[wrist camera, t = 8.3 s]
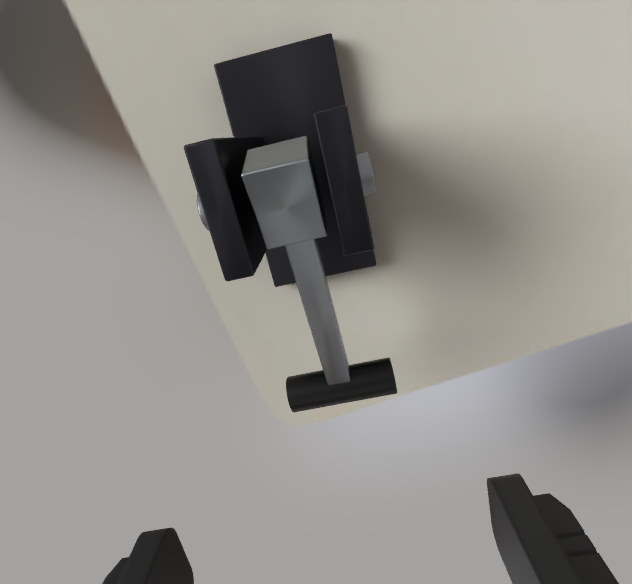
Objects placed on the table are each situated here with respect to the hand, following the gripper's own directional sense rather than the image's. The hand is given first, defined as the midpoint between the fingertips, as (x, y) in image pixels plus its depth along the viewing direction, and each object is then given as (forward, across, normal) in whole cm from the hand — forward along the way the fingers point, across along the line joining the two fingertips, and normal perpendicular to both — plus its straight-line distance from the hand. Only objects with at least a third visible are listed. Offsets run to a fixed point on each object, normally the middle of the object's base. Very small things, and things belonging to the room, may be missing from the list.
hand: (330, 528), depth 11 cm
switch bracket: (+17, 0, -8) cm, 19 cm away
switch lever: (+10, 0, -3) cm, 10 cm away
